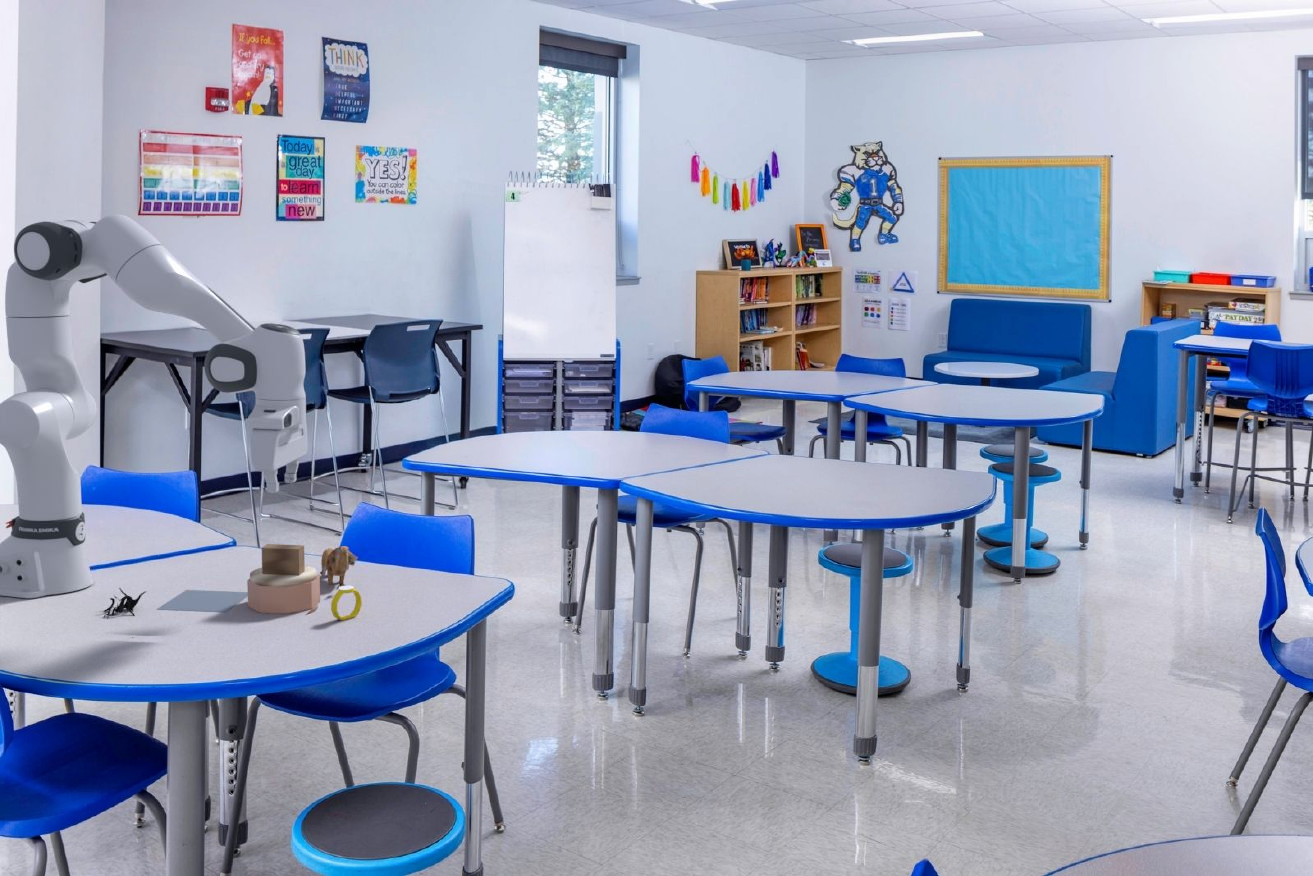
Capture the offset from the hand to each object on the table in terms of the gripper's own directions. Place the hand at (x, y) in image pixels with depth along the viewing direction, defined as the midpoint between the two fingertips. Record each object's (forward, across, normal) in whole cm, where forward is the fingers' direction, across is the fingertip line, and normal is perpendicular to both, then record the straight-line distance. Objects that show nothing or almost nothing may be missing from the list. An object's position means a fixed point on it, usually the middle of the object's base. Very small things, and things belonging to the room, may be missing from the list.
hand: (281, 487), depth 229 cm
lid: (+17, 0, 0) cm, 17 cm away
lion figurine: (+24, -18, +5) cm, 30 cm away
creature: (+24, +10, -27) cm, 37 cm away
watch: (+23, +4, +13) cm, 27 cm away
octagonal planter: (+23, 0, 0) cm, 23 cm away
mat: (+23, 0, -15) cm, 28 cm away
